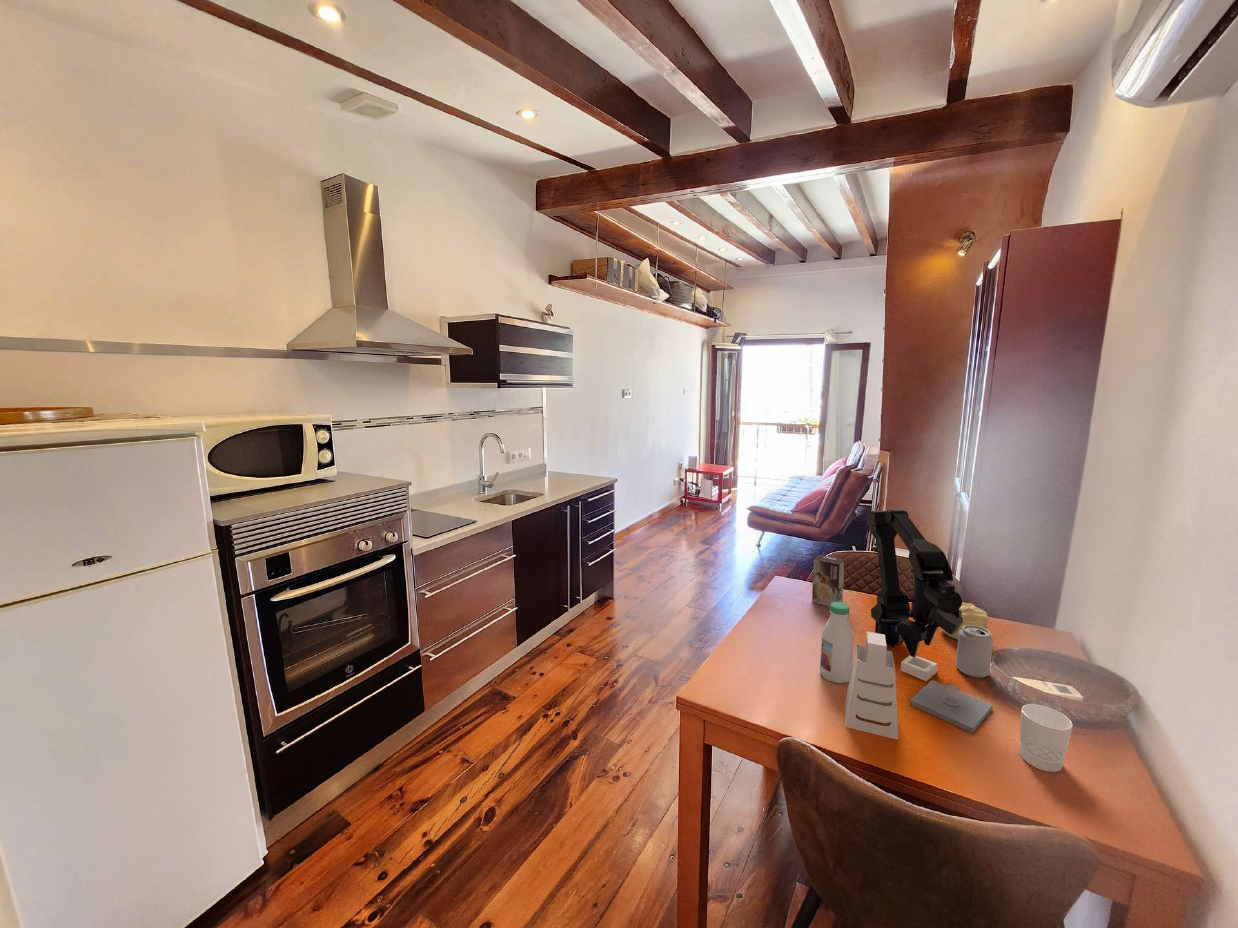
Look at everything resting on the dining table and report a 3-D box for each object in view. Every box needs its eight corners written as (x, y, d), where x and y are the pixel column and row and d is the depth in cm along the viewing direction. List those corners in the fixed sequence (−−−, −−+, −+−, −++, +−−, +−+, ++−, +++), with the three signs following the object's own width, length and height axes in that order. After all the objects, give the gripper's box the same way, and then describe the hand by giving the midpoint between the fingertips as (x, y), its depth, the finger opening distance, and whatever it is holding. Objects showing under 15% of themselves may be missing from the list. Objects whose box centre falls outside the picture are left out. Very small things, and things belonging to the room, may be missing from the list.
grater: (894, 710, 119) (900, 632, 115) (898, 739, 109) (905, 654, 106) (845, 700, 123) (850, 624, 120) (845, 726, 113) (851, 645, 110)
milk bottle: (851, 671, 135) (856, 601, 132) (851, 687, 128) (856, 613, 125) (820, 665, 138) (824, 596, 135) (818, 680, 131) (822, 608, 128)
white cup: (1006, 747, 106) (1011, 705, 105) (1040, 745, 107) (1046, 702, 105) (1040, 776, 99) (1046, 730, 97) (1076, 773, 99) (1083, 728, 98)
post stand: (909, 704, 121) (911, 684, 120) (931, 683, 129) (933, 665, 128) (972, 733, 111) (974, 711, 110) (992, 709, 119) (994, 689, 118)
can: (995, 680, 130) (1000, 638, 128) (963, 677, 131) (967, 635, 129) (980, 665, 137) (985, 624, 135) (950, 662, 139) (954, 621, 137)
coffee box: (843, 602, 176) (846, 559, 174) (837, 609, 171) (840, 564, 169) (817, 596, 182) (819, 553, 180) (810, 602, 177) (813, 558, 175)
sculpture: (950, 645, 148) (953, 610, 146) (930, 625, 159) (933, 593, 158) (992, 647, 146) (996, 612, 144) (968, 627, 158) (972, 595, 156)
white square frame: (900, 670, 135) (901, 661, 135) (910, 662, 139) (911, 653, 138) (926, 681, 130) (927, 672, 130) (936, 672, 134) (937, 663, 134)
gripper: (945, 617, 119) (939, 677, 122) (973, 595, 130) (967, 651, 133) (896, 601, 128) (892, 657, 130) (927, 582, 139) (922, 634, 142)
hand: (920, 650), depth 134 cm, fingers open, 9 cm apart
